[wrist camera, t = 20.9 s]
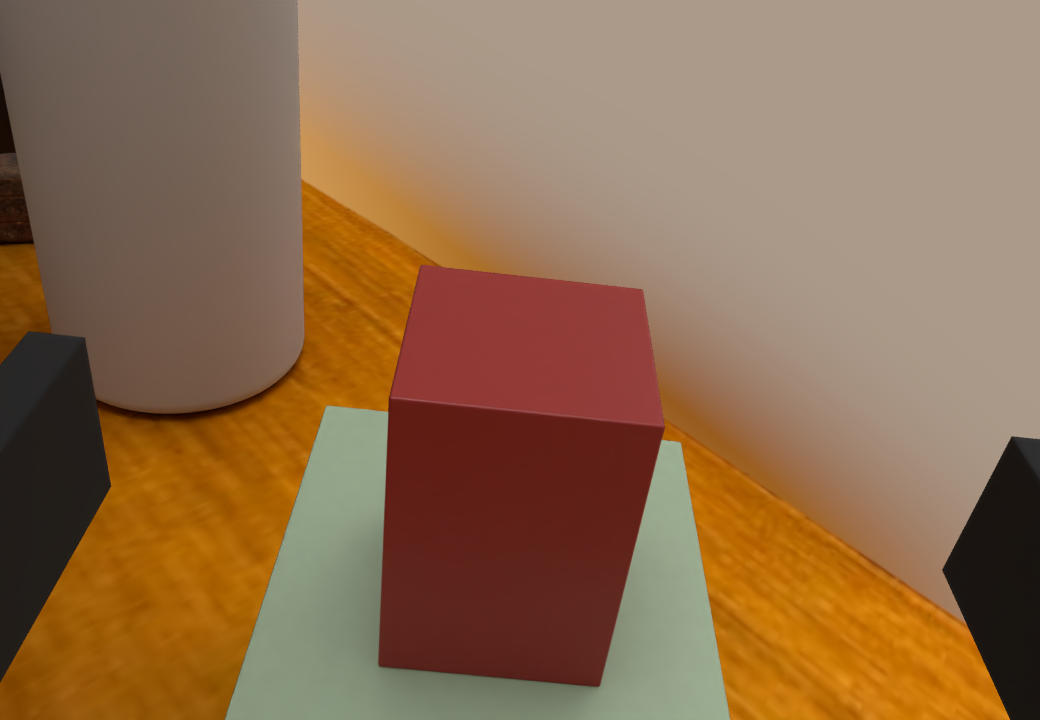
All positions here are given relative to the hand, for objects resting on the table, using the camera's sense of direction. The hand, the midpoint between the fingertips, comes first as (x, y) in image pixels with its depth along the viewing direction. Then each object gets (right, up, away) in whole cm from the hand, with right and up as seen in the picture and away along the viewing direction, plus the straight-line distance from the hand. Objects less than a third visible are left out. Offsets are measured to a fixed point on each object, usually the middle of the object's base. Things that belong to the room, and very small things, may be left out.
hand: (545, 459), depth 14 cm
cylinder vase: (-18, +2, +38) cm, 42 cm away
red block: (-1, -5, +14) cm, 15 cm away
